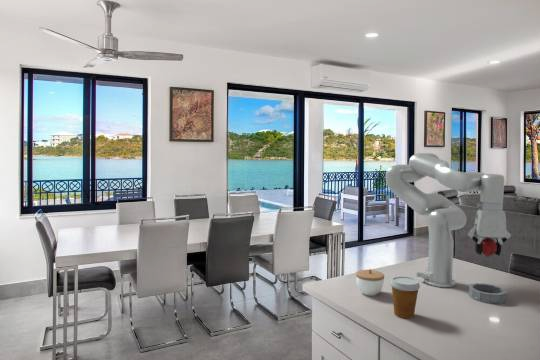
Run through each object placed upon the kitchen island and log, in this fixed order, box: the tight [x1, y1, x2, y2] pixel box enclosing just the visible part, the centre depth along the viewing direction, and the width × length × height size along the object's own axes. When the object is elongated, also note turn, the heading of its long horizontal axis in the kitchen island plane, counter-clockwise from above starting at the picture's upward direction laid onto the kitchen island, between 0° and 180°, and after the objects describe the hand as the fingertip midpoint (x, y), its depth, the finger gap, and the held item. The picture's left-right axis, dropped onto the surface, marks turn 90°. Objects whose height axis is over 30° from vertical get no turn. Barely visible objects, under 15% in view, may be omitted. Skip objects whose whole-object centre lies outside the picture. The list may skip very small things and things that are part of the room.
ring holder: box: [468, 282, 507, 305], centre depth 151 cm, size 12×12×4 cm
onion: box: [481, 238, 497, 258], centre depth 149 cm, size 6×6×8 cm
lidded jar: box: [355, 268, 385, 297], centre depth 155 cm, size 11×11×9 cm
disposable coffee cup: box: [389, 275, 421, 319], centre depth 134 cm, size 10×10×12 cm
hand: (487, 253), depth 150 cm, fingers closed on onion, 5 cm apart
